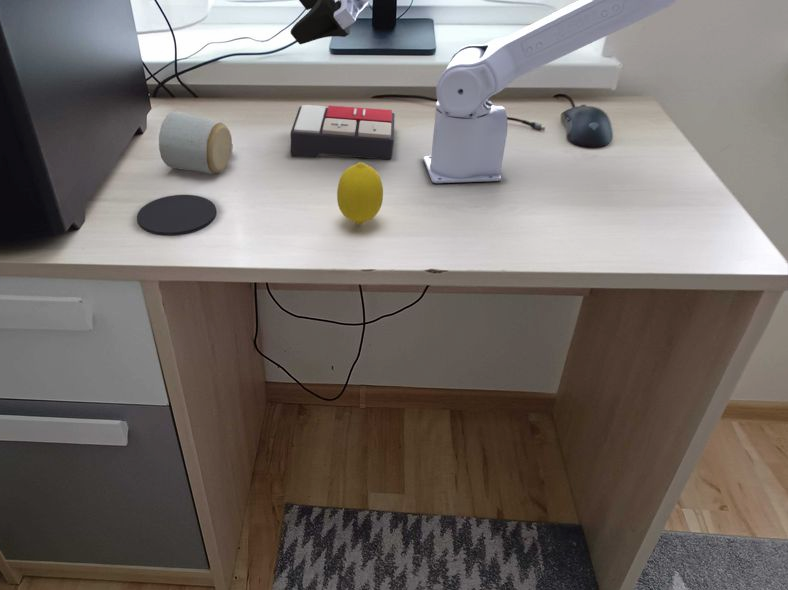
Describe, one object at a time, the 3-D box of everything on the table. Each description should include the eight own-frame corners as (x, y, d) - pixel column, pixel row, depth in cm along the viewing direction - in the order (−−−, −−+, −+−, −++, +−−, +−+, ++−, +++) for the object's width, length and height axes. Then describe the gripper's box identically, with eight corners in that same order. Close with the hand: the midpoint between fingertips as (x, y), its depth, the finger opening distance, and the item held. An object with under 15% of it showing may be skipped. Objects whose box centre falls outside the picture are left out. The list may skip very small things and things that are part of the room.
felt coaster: (219, 195, 87) (218, 193, 87) (213, 233, 79) (213, 230, 79) (144, 198, 87) (143, 196, 86) (131, 236, 79) (130, 234, 79)
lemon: (368, 239, 78) (370, 177, 73) (328, 227, 80) (328, 166, 75) (389, 220, 81) (393, 159, 76) (351, 209, 84) (352, 149, 78)
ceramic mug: (214, 183, 90) (207, 128, 85) (162, 175, 92) (153, 121, 87) (246, 154, 97) (242, 102, 92) (198, 147, 100) (191, 96, 95)
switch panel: (394, 135, 93) (290, 127, 93) (391, 163, 95) (290, 155, 96) (395, 107, 101) (299, 100, 102) (392, 134, 104) (299, 127, 104)
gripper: (370, -101, 79) (286, -36, 87) (362, -35, 72) (271, 29, 80) (400, -52, 84) (318, 6, 92) (396, 15, 77) (307, 71, 84)
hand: (298, 19), depth 86 cm, fingers open, 7 cm apart
